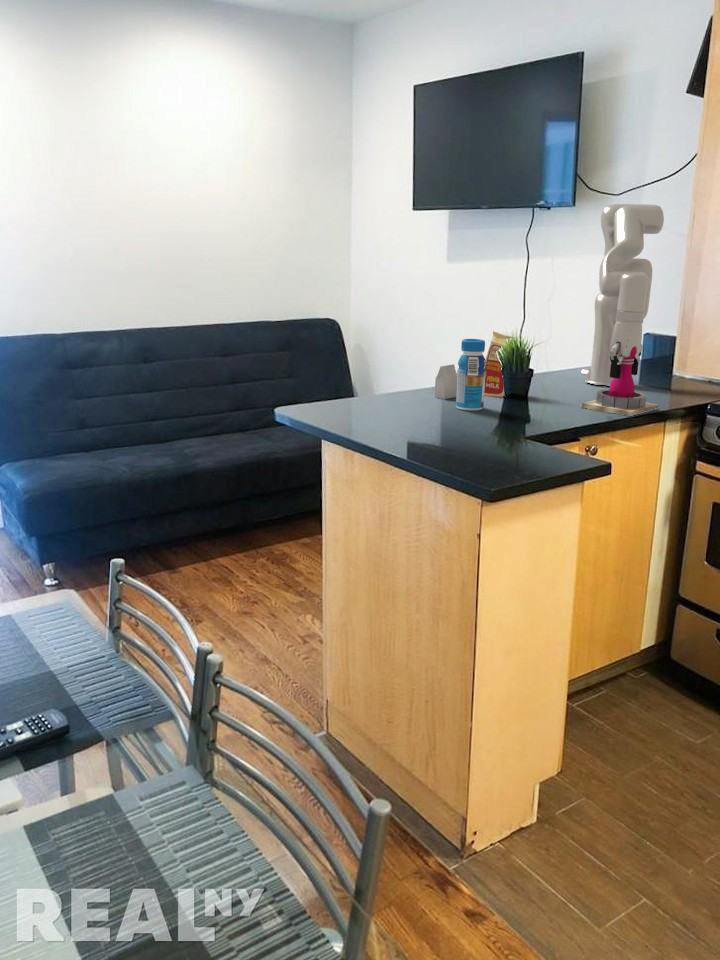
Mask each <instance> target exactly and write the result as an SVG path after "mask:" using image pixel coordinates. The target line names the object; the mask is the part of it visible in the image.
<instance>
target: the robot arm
mask: <svg viewBox="0 0 720 960" xmlns="http://www.w3.org/2000/svg"><path fill="white" fill-rule="evenodd" d="M664 220H665V217H664V211H663V209H662V207H661V206H660V205H657V204H641V203H640V204H638V203H637V204H632V203H617V204H609V205H607V206H604V208H603V209H602V210H601V214H600V225H601V226H600V227H601V230H602V235H603V239H604V253H603V258H602V261H601V263H600V265H599V266H600V267H599V273H598V274H599V278H598V279H599V280H598V284H599V293H598V294H597V296H596V297H595V299H594V335H593V343H592V344H593V346H592V355H591V356H592V357H591V364H590V365H591V366H590V369H585V368H583V369H581V373H580V374H581V376H586V378H585V379H584V380H585V381H584V383H585V382H587V383H590V384H595V385H610V384H611V381H612V380H613V378H617V379H619V378H620V377H621V368H622V365H620V364H621V362H622V360H623V358H627V357H630V352H631V350H632V348H633V347H634V346H636V347H637V353H636V355H635V356H634V357H633V359H634V360H633V362H634V363H633V364H632V368H631V373H632V376H637V375H638V369H639V362H640V360H641V359H640V357H641V356H642V350H643V349H644V345H643V344H642V342H643V341H642V340H643V339H642V338H643V337H642V336H643V324H644V320H645V318H646V317H647V315H648V312H649V306H650V298H651V289H652V281H653V265H652V263H651V261H650V260H649V259H646V258H641V257H639V258H637V257H638V256H639V255H640V254H642V251H643V250H644V247H645V241H644V234H645V235H646V234H647V235H657V234H660V232H661V231H662V229H663V227H664V224H665V223H664V222H665V221H664ZM618 358H619V359H618ZM587 383H586V384H587ZM590 384H589V385H590ZM595 385H594V386H595Z"/></svg>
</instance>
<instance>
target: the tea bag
mask: <svg viewBox="0 0 720 960" xmlns="http://www.w3.org/2000/svg"><path fill="white" fill-rule="evenodd" d="M434 380H435V381H434V382H435V386H434V398H435V399H442V400H446V399H452V398H456V396H457V371H456V367H455V364H454V363H453V364H446V365H441V366H439V370H438V372H437V374H436V377H435V379H434Z"/></svg>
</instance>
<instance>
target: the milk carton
mask: <svg viewBox="0 0 720 960" xmlns="http://www.w3.org/2000/svg"><path fill="white" fill-rule="evenodd" d="M510 338H514V339H515V338H516V337H515V336H512V335H511V336H510V335H506V334H502V333H499V332H497V331H494V330H493V331H492V337H491V341H490V344H489V347H488V350H487V355H486V356H485V360H486V366H485V370H486V377H485V390H484V397H495V398H496V397H497V398H498V397H499V398H504V397H503V396H504V383H503V377H502V370H501V364H500V362H499V360H498V358H497V354H496V351H497V350H499V349H500V348H501V346H502V345H503V343H504V341H505V340H506V339H510Z"/></svg>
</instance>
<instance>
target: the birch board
mask: <svg viewBox="0 0 720 960" xmlns="http://www.w3.org/2000/svg"><path fill="white" fill-rule="evenodd" d="M657 407H658V408H659V404H656V403H650V402H646V404H645V407H642V408H637V409H623V408H612V407H606V406H602V405H599V404H596V399H594V400H590V401H586V402H585V401H584V402H582V403H581V408H582V409H585V408H587V409H586V410H590V409H593V410H592V411H596V410H600V411H599V412H601V411H605V412H604V413H607V412H612V413H618V414H624V415H630V416H631V415H635V414H638V413H641V412H644V411H648V410H651V409H654V408H657ZM612 413H611V414H612ZM618 414H617V415H618Z"/></svg>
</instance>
